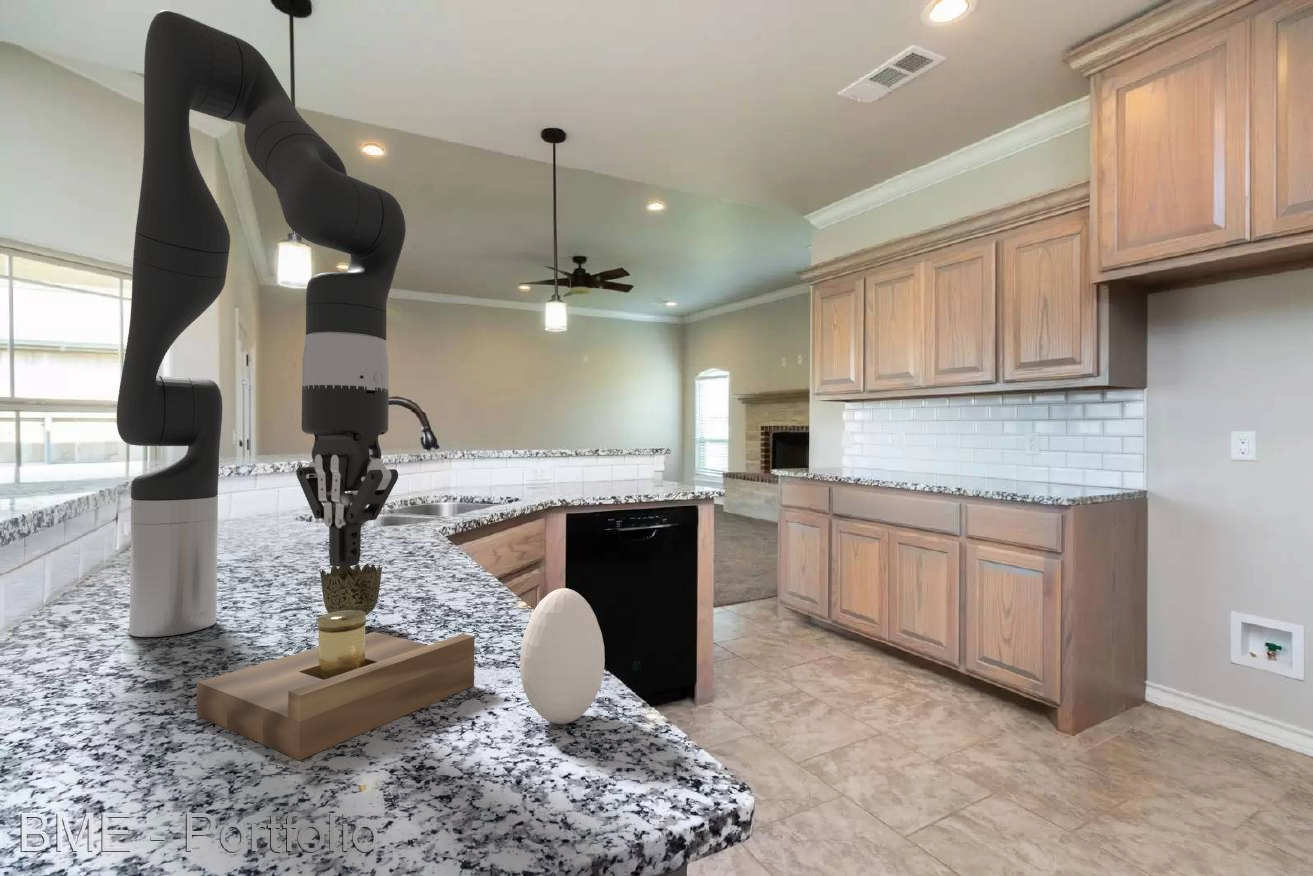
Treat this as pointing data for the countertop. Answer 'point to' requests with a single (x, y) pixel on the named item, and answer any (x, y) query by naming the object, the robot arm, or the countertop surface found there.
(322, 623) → the brass cylinder peg
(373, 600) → the cup
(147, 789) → the countertop surface
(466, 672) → the jig
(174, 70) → the robot arm
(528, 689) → the egg
